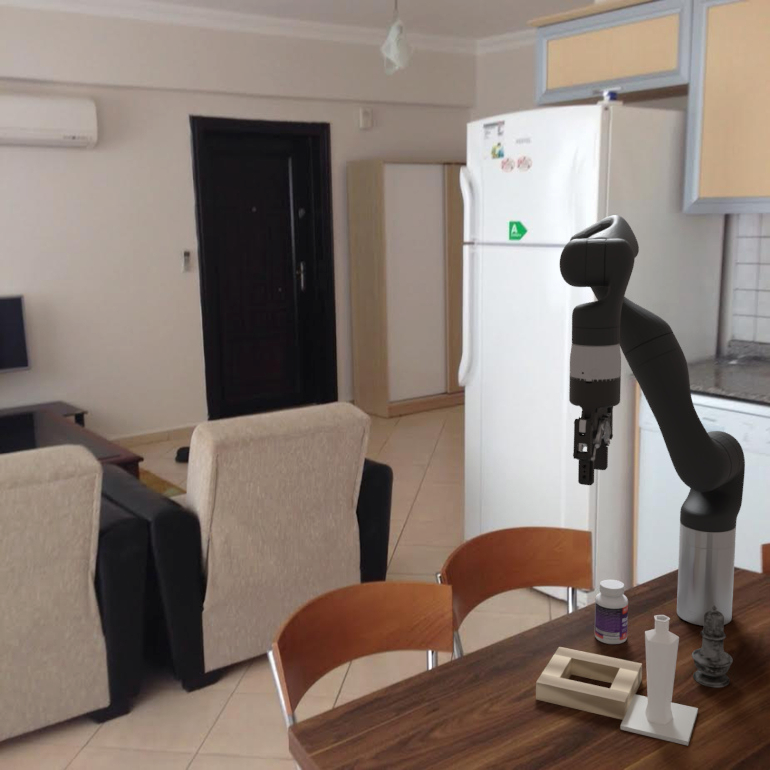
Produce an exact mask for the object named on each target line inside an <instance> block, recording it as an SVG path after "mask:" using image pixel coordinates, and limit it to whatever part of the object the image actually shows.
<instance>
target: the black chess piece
mask: <svg viewBox="0 0 770 770" xmlns="http://www.w3.org/2000/svg"><path fill="white" fill-rule="evenodd" d="M712 609H713V610H709V611H707V612H706V613H705V614H704V626H703V629H701V631H700V635H701V636H702V640H701V641H702V643H701V648H700V647H699V648H697V649H695V650H693V651H692V653H691V657H692V659H693V662H694V666H695V667H696V668H695V669H697V670H696V671H693V674H692V678H693V680H694V681H695V682H697V683H698V684H700V685H701V686H705V687H709V688H717V689H718V688H724V687H726V686H728V685H729V684H730V681H731V680H730V678H729V676H728V675H726V673H728V671H729V670H730V668H731V665H732V664H733V661H734V660H733V658H732V656H731V655H730V654H729V653H728V652H725V650H724V649H725V648H724V641H725V639H726V638H727V634H726V633H725V632H724V628H725V627H724V626H725V625H724V616H723V614H722V613H721V612H719V611H717V610H716V609H717V608H716V606H713V607H712Z"/></svg>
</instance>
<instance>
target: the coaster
mask: <svg viewBox="0 0 770 770" xmlns="http://www.w3.org/2000/svg"><path fill="white" fill-rule="evenodd" d="M647 704H648V696H644V695H640V694H637V693H636V694H634V696H633V698H632V700H631V703H630V705H629V707H628V709H627V712H626V714H625V716H624V719H623V720H622V721H621V723H620V730H621V731H626V732H630V733H634V734H638V735H642V736H646V737H650V738H655V739H659V740H662V741H666V742H670V743H671V742H672V743H674V744H675V743H676V744H680V745H684V746H689V743H690V740H691V737H692V733H693V730H694V726H695V723H696V720H697V715H698V713H699V708H698V707H695V706H689V705H685V704H681V703H680V704H679V703H676V702H671V710H672V714H673V719H672V720H671V721H670V722H669V723H668V724H666V725H663V724H659V723H654V722H649V721H647V718H646V714H645V710H646V707H647Z"/></svg>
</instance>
